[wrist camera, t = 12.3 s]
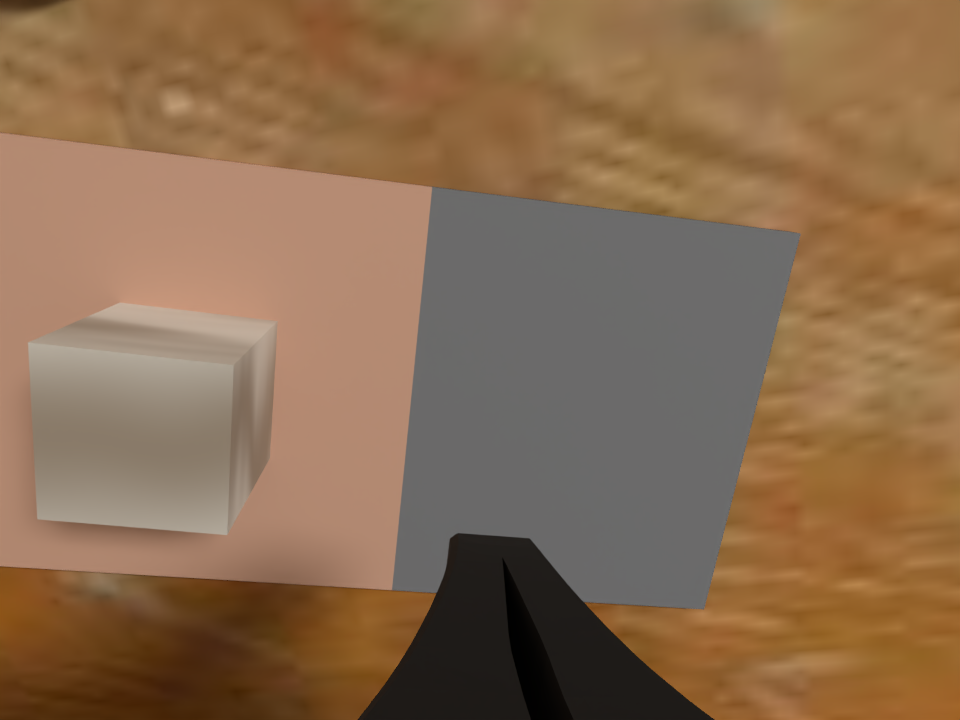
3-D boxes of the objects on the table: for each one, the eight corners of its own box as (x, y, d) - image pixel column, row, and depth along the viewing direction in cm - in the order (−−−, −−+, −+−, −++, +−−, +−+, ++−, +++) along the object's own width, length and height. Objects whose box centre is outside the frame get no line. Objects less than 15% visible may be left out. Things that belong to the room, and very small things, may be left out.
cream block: (270, 457, 18) (227, 535, 14) (121, 444, 18) (37, 519, 14) (277, 320, 17) (233, 365, 13) (120, 302, 17) (28, 342, 13)
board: (697, 599, 21) (704, 609, 21) (-16, 554, 19) (-28, 564, 19) (790, 231, 18) (800, 233, 18) (-60, 124, 16) (-76, 123, 15)
